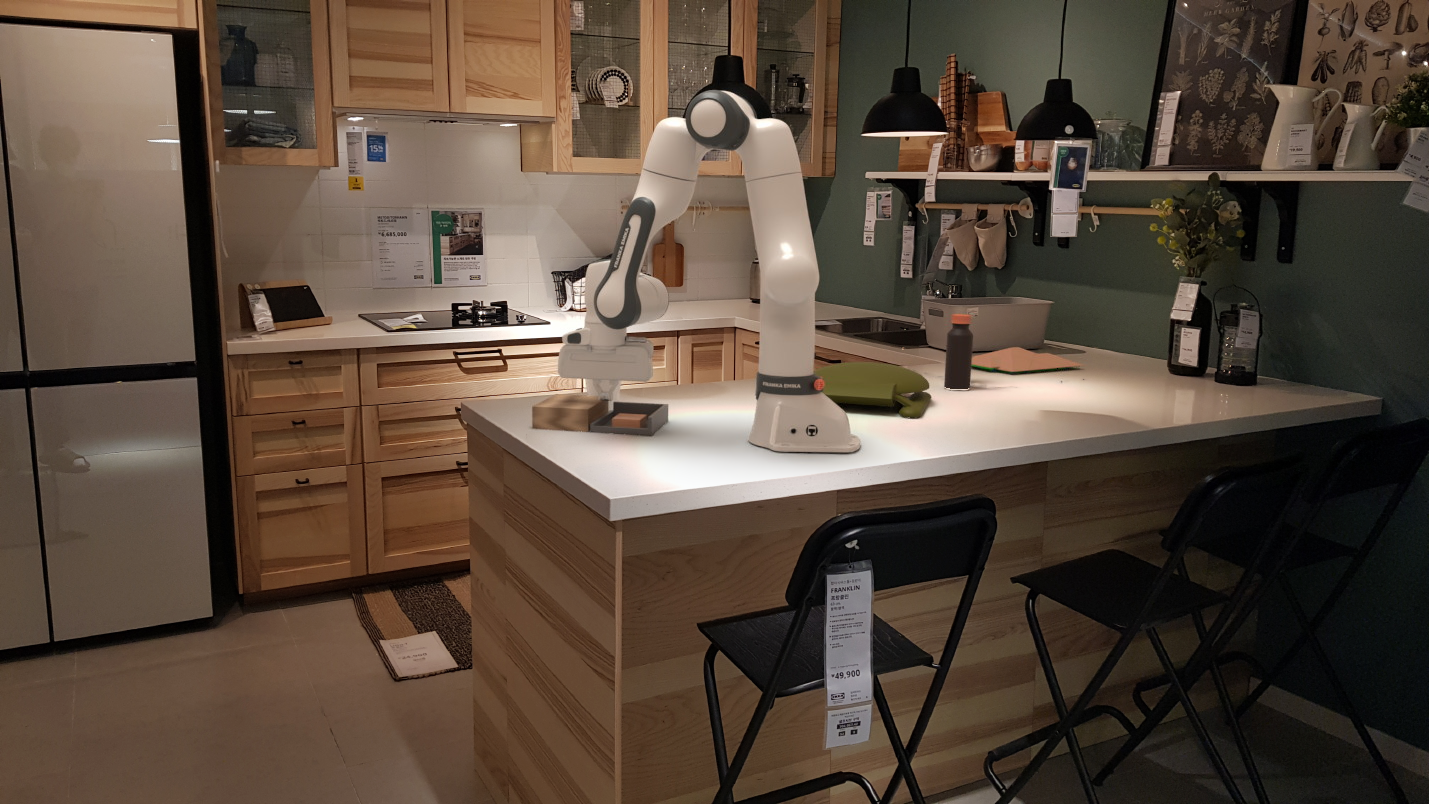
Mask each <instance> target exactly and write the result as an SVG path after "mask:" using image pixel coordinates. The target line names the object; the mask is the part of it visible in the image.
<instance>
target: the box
mask: <svg viewBox="0 0 1429 804" xmlns="http://www.w3.org/2000/svg"><path fill="white" fill-rule="evenodd" d="M619 413H624V414H643V415H647V424H646V425H645V426H643V427H642V428H629V427H612V418H614V417H615V416H616V415H618V414H619ZM667 423H669V403H652V402H649V403H648V402H635V401H618V402H616V401H614V402H613V410H610V411H609V412H607V413H606V414H604V415H603V416H601V417H600V418H598V419H597V420H595V421H594V422H592V423H591V424H590V431H589V432H590V433H594V434H595V433H597V434H609V433H613V434H612V435H624V434H625V435H628V436H642V437H653V436H654V435H655V434H656V433H657V432H659V430H661V428H662V427H664V426H665V425H666V424H667ZM663 425H664V426H663ZM652 435H653V436H652Z"/></svg>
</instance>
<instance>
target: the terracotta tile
mask: <svg viewBox="0 0 1429 804" xmlns="http://www.w3.org/2000/svg"><path fill="white" fill-rule="evenodd" d="M646 424H647V415H643V414H624V413H619V414H618V415H616V416H615V417H614V418H612V427H629V428H642V427H643V426H645V425H646Z"/></svg>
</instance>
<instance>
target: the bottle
mask: <svg viewBox="0 0 1429 804" xmlns="http://www.w3.org/2000/svg"><path fill="white" fill-rule="evenodd" d="M971 319H972V315H971V314H963V313H955V314H953V313H952V314H951V325H952V328H951V329H949V331H948V332H947V333H946V351H945V365H944V366H945V367H944V383H943V384H944V385H943V387H946V388H950V389H968V388H970V389H971V377H972V375H971V374H972V366H971V363H972V357H973V345H974V333H973V332H972V331H971V330H970V328H969V327H970V326H971Z"/></svg>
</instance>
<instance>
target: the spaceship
mask: <svg viewBox="0 0 1429 804" xmlns="http://www.w3.org/2000/svg"><path fill="white" fill-rule="evenodd" d="M814 373H815V374H816V375H818V376H820V377H822V378H823V379H824V383H825V385H824V388H823V392H822V393H823V394H825V395H826V396H827V397H828V398H829V399H831V400H832V401H833V402H834V403H835V404H849V405H850V404H851V405H862V406H863V405H864V406H866V405H867V406H878V407H891V408H892V407H894V406H895V404H896V403H897V402H898V403H900V404H902V405H903V406H902V407H901V409H899V412H898V413H899V415H900V416H901V417H902V416H903V417H902V418H905V417H910V418H909V419H916V418H915V417H918V418H920V417H921V416H922V415H923V413H924V411H925V409H926V408H927V406H928V404H929V403H930V401H931V400H932V395H931V394H930V393H929V392H926V391H927V390H930V382H929V380H928V379H927V378H925V376H923V374H920V373H918V372H917V371H915V370H912V369H910V368H907V367H905V366H904V367H903V366H900V365H895V364H889V363H883V362H874V361H853V362H852V361H850V362H848V361H847V362H841V363H839V362H838V363H834V364H830V365H829V364H828V365H826V366H821V367H820V368H818V369H814ZM906 394H911V395H910V396H909V397H908V398H907V397H906V396H905V395H906Z"/></svg>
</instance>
